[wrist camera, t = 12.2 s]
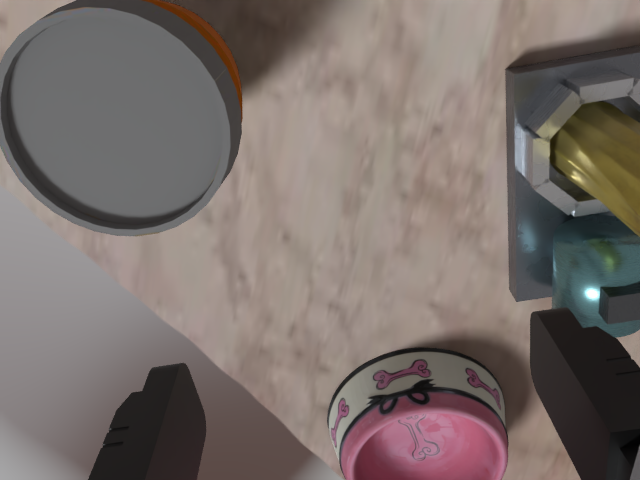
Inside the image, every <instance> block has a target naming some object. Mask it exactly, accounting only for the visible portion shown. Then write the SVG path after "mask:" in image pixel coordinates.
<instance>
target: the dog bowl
mask: <svg viewBox="0 0 640 480" xmlns="http://www.w3.org/2000/svg"><path fill="white" fill-rule="evenodd" d="M327 423H328V428H329V432H330V436H331V440H332V443H333V446H334V449H335V451H336V454H337V457H338V460H339V462H340V467H341V470H342V473H343V475H344V477H345V479H346V480H501V479H502V477H503V475H504V473H505V470H506V467H507V462H508V435H507V431H506V424H505V404H504V398H503V394H502V390H501V387H500V385H499V383H498V382H497V380H496V378H495V377H494V376H493V374H492V373H491V372H490V371H489V370H488V369H487V368H486V367H485V366H484V365H482V364H481V363H479V362H478V361H476V360H474V359H472V358H471V357H468V356H466V355H463V354H461V353H457V352H454V351H450V350H445V349H437V348H411V349H405V350H400V351H395V352H391V353H388V354H385V355H382V356H380V357H377V358H375V359H373V360H370V361H369V362H367V363H365V364H363V365H362V366H360V367H359V368H357V369H356V370H355V371H353V372H352V373H351V374H350V375H349V376H348V377H347V378H346V379H345V380H344V381H343V382H342V383H341V384H340V386H339V387H338V389H337V390H336V392H335V393H334V395H333V398H332V400H331V403H330V406H329V410H328V417H327Z"/></svg>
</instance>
